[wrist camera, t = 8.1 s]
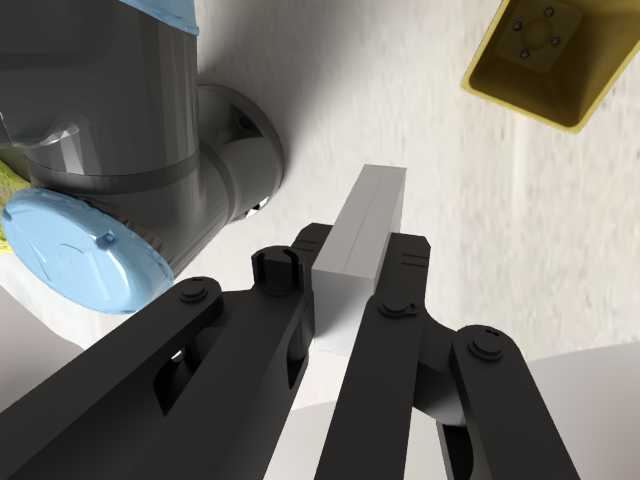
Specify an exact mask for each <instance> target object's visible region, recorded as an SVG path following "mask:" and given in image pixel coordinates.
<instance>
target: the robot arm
mask: <svg viewBox="0 0 640 480" xmlns="http://www.w3.org/2000/svg"><path fill="white" fill-rule="evenodd" d="M197 36H199V28H198V26H197V25H196V19H195V8H194V0H0V148H7V147H21V150H22V152H23V155H24V159H25V162H26V166H27V170H28V173H29V176H30V180H31V186H30V188H23V189H21V190H19V191H16V192H15V193H14V194H13V196H12V198H11V199H10V200H8V201H7V203H6V206H5V207H4V208H3V209H2V211H1V218H0V219H1V226H2V230H3V233H4V235H5V238H6V240H7V242H8V244H9V245H10V247H11V248H12V250H13V251H14V253H15V254H16V255H17V257H18V258H19V259H20V260H21V261H22V262H23V264H24V265H25V266H26V267H27V268H28V269H29V270H30V271H31V272H32V273H33V274H34V275H35V276H36V277H37V278H38V279H40V280H41V281H42V282H44V283H45V284H46V285H48V286H49V287H50V288H51V289H53V290H54V291H56V292H57V293H59V294H60V295H62V296H63V297H65V298H67V299H69V300H71V301H72V302H74V303H76V304H79V305H81V306H83V307H86V308H88V309H91V310H94V311H98V312H102V313H106V314H114V315H124V314H130V313H134V312H136V311H138V310H140V311H138V312H137V313H136V314H134V315H133V316H131V317H130V318H129V319H127V320H126V321H125V322H123V323H122V324H121V325H119V326H118V327H117V328H115V329H114V330H112V331H111V332H110V333H108V334H107V335H106V336H104V337H103V338H102V339H100V340H99V341H98V342H96V343H95V344H93V345H92V346H91V347H89V348H88V349H87V350H85V351H84V352H83V353H81V354H80V355H79V356H77V357H76V358H74V359H73V360H72V361H70V362H69V363H68V364H66V365H65V366H64V367H62V368H61V369H60V370H58V371H57V372H56V373H54V374H53V375H51V376H50V377H49V378H48V379H46V380H45V381H43V382H42V383H41V384H39V385H38V386H37V387H35V388H34V389H32V390H31V391H30V392H29V393H27V394H26V395H24V396H23V397H22V398H20V399H19V400H18V401H16V402H15V403H13V404H12V405H11V406H10V407H8V408H7V409H5V410H4V411H3V412H1V413H0V480H263V478H264V476H265V473H266V471H267V468H268V465H269V463H270V460H271V458H272V455H273V453H274V450H275V448H276V445H277V442H278V440H279V437H280V435H281V432H282V430H283V427H284V425H285V422H286V419H287V417H288V414H289V412H290V409H291V407H292V404H293V402H294V399H295V397H296V394H297V391H298V389H299V386H300V384H301V381H302V379H303V376H304V374H305V371H306V369H307V366H308V360H309V351H308V349H309V346H310V344H311V341H312V339H313V337H314V349H315V350H320V351H325V352H330V353H334V354H339V355H344V356H348V357H350V360H349V363H348V366H347V370H346V373H345V376H344V380H343V383H342V386H341V390H340V393H339V396H338V400H337V403H336V407H335V410H334V413H333V417H332V420H331V423H330V427H329V430H328V433H327V437H326V440H325V444H324V447H323V450H322V454H321V457H320V460H319V464H318V467H317V470H316V474H315V477H314V480H403V479H404V470H405V463H406V454H407V445H408V438H409V429H410V420H411V412H412V406H413V407H414V408H416V409H418V410H420V411H422V412H424V413H425V414H427V415H429V416H431V417H432V418H434V419H436V426H437V430H438V435H439V440H440V444H441V450H442V455H443V459H444V464H445V469H446V474H447V479H448V480H581V479H580V477H579V476H578V473H577V471H576V469H575V467H574V465H573V462H572V460H571V458H570V456H569V454H568V452H567V450H566V448H565V445H564V443H563V441H562V439H561V437H560V435H559V433H558V430H557V428H556V426H555V424H554V422H553V420H552V418H551V416H550V413H549V411H548V409H547V407H546V405H545V403H544V401H543V399H542V397H541V395H540V392H539V390H538V388H537V386H536V384H535V381H534V380H533V377H532V375H531V373H530V371H529V369H528V367H527V364H526V362H525V360H524V358H523V356H522V354H521V352H520V350H519V348H518V346H517V345H516V344H515V342H514V341H513V339H511V338H510V337H509V336H507V335H506V334H505V333H503V332H502V331H500V330H497V329H495V328H492V327H490V326H484V325H469V326H465V327H463V328H461V329H459V330H458V331H457V332H456V331H454V330H452V329H449V328H447V327H445V326H443V325H441V324H440V323H438V322H437V321H436V320H434V319H433V318H432V317H431V316H430V315H429V313H428V312H427V310H426V308H425V301H424V300H425V292H426V283H427V275H428V266H429V258H430V250H431V246H430V245H429V243H428V241H427V239H426V238H425V237H424V236H417V235H409V234H402V233H400V225H401V216H402V206H403V197H404V187H405V177H406V168H400V167H390V166H379V165H369V164H365V165H364V167H363V169H362V171H361V173H360V175H359V177H358V179H357V181H356V182H355V184H354V186H353V188H352V190H351V192H350V194H349V196H348V198H347V200H346V202H345V204H344V206H343V208H342V210H341V212H340V214H339V216H338V218H337V220H336V222H335V223H334V225H326V224H319V223H311V224H310V225H308V226H306V227H305V228H303V229H302V230H301V231H300V233H299V234H298V236H297V237H296V239H295V241H294V242H293V244H292V245H291V247H289V246H277V245H276V246H270V247H266V248H263V249H261V250H259V251H257V252H256V253H255V254H253V255H252V256H251V260H252V267H253V275H254V283H255V284H254V285H253V287H252V288H251V289H249V290H242V291H224V292H222V290H221V287H220V285H219V282H217V281H216V280H214V279H213V278H209V277H204V276H202V277H192V278H188V279H185V280H182V281H180V282H179V283H177V284H175V285H174V286H172V284H173V283H174V282H173V281H174V280H175V279H176V278H177V277H178V276H179V275H180V274H181V272H182V271H183V270H184V269H185V268H186V267H187V266H188V265H189V264H190V263H191V262H192V261H193V260H194V258H195V257H196V256H197V255H198V254H199V253H200V252H201V251H202V250H203V249H204V248H205V247H206V246H207V244H208V243H209V242H210V241H211V240H212V239H213V238H214V237H215V236H216V235H217V234H218V233H219V231H220V230H221V229H222V228H223V227H224V226H225V225H228V224H231V223H234V222H236V221H239V220H242V219H244V218H247V217H249V216H252V215H254V214H255V213H257V212H258V211H260V210H261V209H262V208H263V207H264V206H265V205H266V204H267V203H268V202H269V201H270V199H271V198H272V197H273V196H274V195H275V193H276V192H277V190H278V188H279V186H280V183H281V180H282V176H283V169H284V159H283V152H282V147H281V144H280V141H279V138H278V136H277V133H276V131H275V129H274V127H273V126H272V124H271V123H270V121H269V120H268V118H267V117H266V116H265V114H264V113H263V112H262V111H261V110H260V109H259V108H258V107H257V106H256V105H255V104H254V103H253V102H251V101H250V100H249V99H247V98H246V97H245V96H243V95H241V94H239V93H237V92H236V91H233V90H231V89H228V88H225V87H221V86H215V85H202V86H198V79H197ZM171 286H172V287H171ZM170 287H171V288H170ZM164 291H165V292H164ZM163 292H164V293H163ZM162 293H163V294H162ZM158 296H159V297H158ZM179 351H181V353H180V354H179V355H178V356H177V357H175V358H173V359H171V358H172V357H173V356H174V355H175V354H176V353H178V352H179Z"/></svg>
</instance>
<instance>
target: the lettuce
mask: <svg viewBox="0 0 640 480" xmlns="http://www.w3.org/2000/svg"><path fill="white" fill-rule="evenodd" d="M30 186H31V183H29V182H27V181H26V180H24V179H23V178H21V177H20V176H18V175H17V174H15V173H14V172H13V171H12V170H11V169H10V168H9V167H8V166H7V165H6V164H4V163H3V162H2V161H0V218H1V211H2V209H3V208H4V207H5V206H6V203H7V201H8V200H10V199H11V198H12V196H13V194H14V193H15V192H16V191H19V190H21V189H23V188H30ZM1 253H14V251H13V250H12V248H11V247H10V245H9V244H8V242H7V240H6V238H5V235H4V233H3V230H2V226H1V219H0V254H1Z"/></svg>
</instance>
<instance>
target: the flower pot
mask: <svg viewBox="0 0 640 480" xmlns="http://www.w3.org/2000/svg"><path fill="white" fill-rule="evenodd" d="M548 8H552V9H553V14H552V15H551V16H546V15H545V11H546V10H547V9H548ZM517 22H520V23H521V25H522V26H521V28H520V29H519V30H515V29H514V25H515V23H517ZM555 37H557V38H559V43H558V44H557V45H553V44H552V39H553V38H555ZM639 49H640V0H502V2H501V4H500V6H499V8H498V10H497V12H496V14H495V16H494V18H493V20H492V22H491V24H490V26H489V28H488V30H487V32H486V34H485V35H484V37H483V39H482V41H481V43H480V45H479V47H478V49H477V51H476V53H475V55H474V57H473V59H472V61H471V63H470V65H469V67H468V69H467V70H466V72H465V74H464V76H463V79H462V81H461V89H462V90H463V91H465V92H467V93H469V94H472V95H474V96H477V97H479V98H481V99H484V100H487V101H489V102H492V103H495V104H497V105H499V106H502V107H505V108H507V109H510V110H512V111H514V112H517V113H519V114H522V115H524V116H527V117H529V118H532V119H534V120H536V121H539V122H541V123H543V124H546V125H548V126H550V127H553V128H555V129H557V130H560V131H562V132H565V133H568V134H577V133H579V132H580V131H581V130H582V128H583V127H584V126H585V124H586V123H587V122H588V120H589V119H590V117H591V116H592V114H593V113H594V112H595V110H596V109H597V107H598V106H599V104H600V103H601V101H602V100H603V99H604V97H605V96H606V94H607V93H608V92H609V90H610V89H611V87H612V86H613V84H614V83H615V82H616V80H617V79H618V77H619V76H620V75H621V73H622V72H623V71H624V69H625V68H626V67H627V65H628V64H629V63H630V61H631V60H632V59H633V57H634V56H635V55H636V53H637V52H638V51H639ZM523 51H528V52H529V54H528V56H527V57H525V58H523V57H522V56H521V53H522V52H523Z"/></svg>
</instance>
